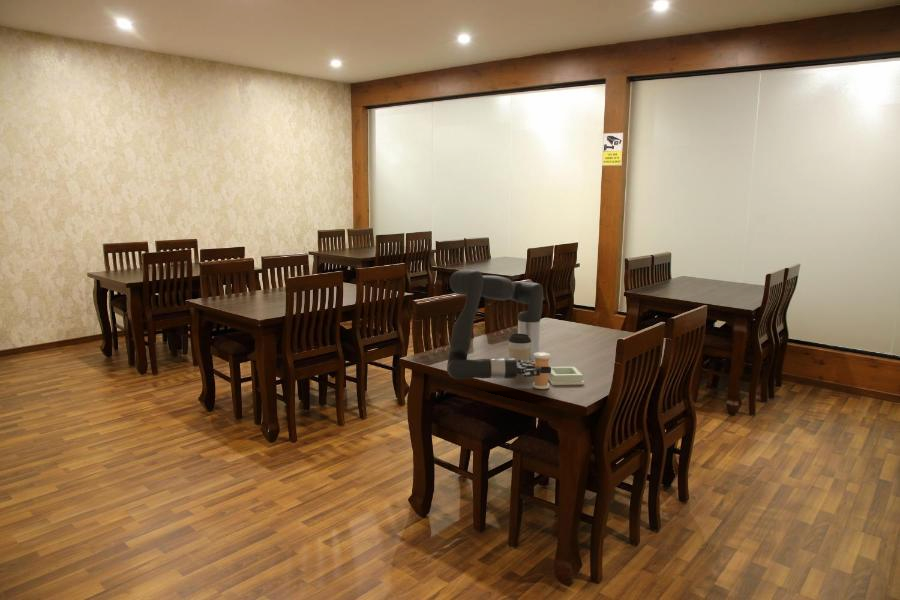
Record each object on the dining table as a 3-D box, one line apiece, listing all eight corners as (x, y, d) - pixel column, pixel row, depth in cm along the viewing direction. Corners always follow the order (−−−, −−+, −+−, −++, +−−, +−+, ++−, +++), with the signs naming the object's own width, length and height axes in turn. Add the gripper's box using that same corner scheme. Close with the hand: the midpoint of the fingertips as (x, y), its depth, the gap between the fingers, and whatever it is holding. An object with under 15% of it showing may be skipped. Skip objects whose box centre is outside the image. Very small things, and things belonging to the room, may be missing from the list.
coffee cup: (528, 367, 243) (529, 331, 240) (532, 374, 234) (533, 337, 231) (506, 367, 243) (507, 331, 240) (509, 374, 234) (510, 337, 231)
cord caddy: (544, 375, 233) (544, 366, 233) (574, 374, 234) (575, 366, 234) (552, 384, 221) (552, 375, 221) (583, 384, 222) (584, 375, 222)
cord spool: (531, 383, 221) (532, 352, 219) (547, 383, 221) (548, 352, 219) (534, 389, 215) (535, 356, 213) (551, 388, 215) (552, 356, 213)
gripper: (506, 363, 208) (554, 363, 209) (499, 352, 222) (544, 352, 223) (505, 384, 209) (553, 383, 211) (499, 372, 223) (544, 371, 225)
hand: (548, 367), depth 217 cm, fingers closed on cord spool, 4 cm apart
